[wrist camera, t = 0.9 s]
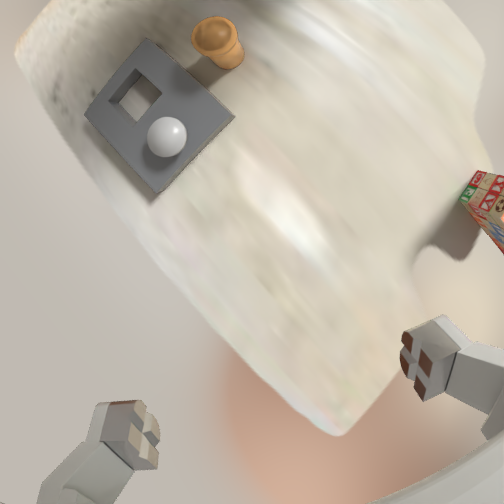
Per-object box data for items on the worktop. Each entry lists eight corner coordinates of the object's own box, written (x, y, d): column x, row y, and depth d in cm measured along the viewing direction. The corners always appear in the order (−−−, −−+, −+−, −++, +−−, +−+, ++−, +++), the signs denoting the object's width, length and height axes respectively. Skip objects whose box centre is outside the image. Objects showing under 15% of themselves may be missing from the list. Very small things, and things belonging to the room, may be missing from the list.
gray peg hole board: (94, 115, 41) (71, 114, 36) (154, 43, 37) (137, 32, 31) (164, 190, 44) (146, 197, 39) (235, 116, 39) (226, 112, 34)
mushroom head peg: (206, 45, 36) (187, 25, 28) (242, 35, 35) (229, 11, 27) (215, 76, 38) (196, 60, 29) (251, 65, 37) (241, 46, 28)
